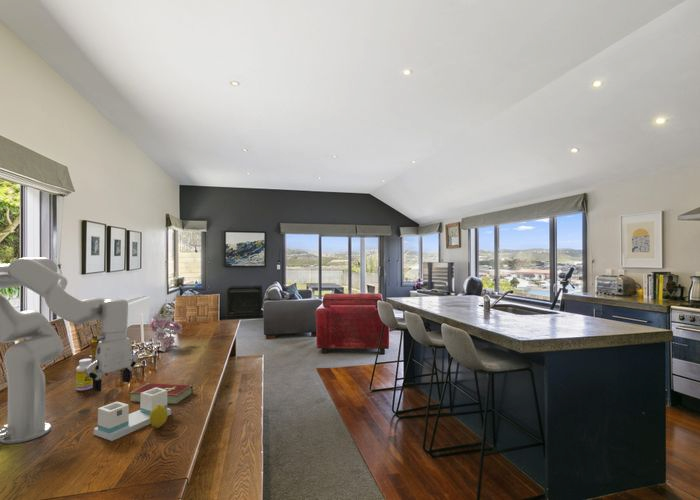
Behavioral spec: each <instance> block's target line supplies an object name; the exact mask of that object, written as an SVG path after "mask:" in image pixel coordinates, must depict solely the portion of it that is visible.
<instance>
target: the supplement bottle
mask: <svg viewBox="0 0 700 500" xmlns="http://www.w3.org/2000/svg"><path fill="white" fill-rule="evenodd" d="M92 360H93V359H92V358H83V359H80V360H79V361H78V366H77V367H76V368H75V390H76V391H81V392H82V391H87V390H90V389H93V379H92V378H91V377H89V376H88V375H87V373H86V372H85V370H84V369H85V368H86V367H87V366H89V365H90V364H91V363H93V362H92ZM92 372H93V373H94V372H95V367H94V368H93V369H92Z"/></svg>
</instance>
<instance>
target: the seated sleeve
mask: <svg viewBox="0 0 700 500" xmlns="http://www.w3.org/2000/svg"><path fill="white" fill-rule="evenodd" d="M139 404H140V405H139V407H140V409H139V410H140V412H143V413H146V414H149V415H150V413H151V411H152V409H153V408H154V407H156V406H158V405H161V406H164V407H165V408H166V409H167V408H168V403H167V390H165V389H161V388H157V387H156V388H153V389H150V390H147V391H145V392H142V393H141V394H140V402H139Z"/></svg>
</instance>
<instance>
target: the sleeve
mask: <svg viewBox="0 0 700 500" xmlns="http://www.w3.org/2000/svg"><path fill="white" fill-rule="evenodd" d="M129 412H130V407H129V404H127V403H124V402H120V401H115V402H112V403H111V402H110V403H109V404H106V405H103V406H101V407H98V408H97V427H98V430H101V431H104V432H107V433H111V432H114V431H116V430H118V429H121V428H123V427H125V426H128V425H129V414H130V413H129Z"/></svg>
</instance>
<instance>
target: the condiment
mask: <svg viewBox="0 0 700 500" xmlns="http://www.w3.org/2000/svg"><path fill="white" fill-rule="evenodd" d="M98 335H99V334H94V335H92V338H91V342H90V343H91V347H90V349H91V350H90V352H91V353H90V354H91V355H89V357H91V358H95V356H96V350H97V346H98V343H99V341H101V340H100V339H97V336H98Z"/></svg>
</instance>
